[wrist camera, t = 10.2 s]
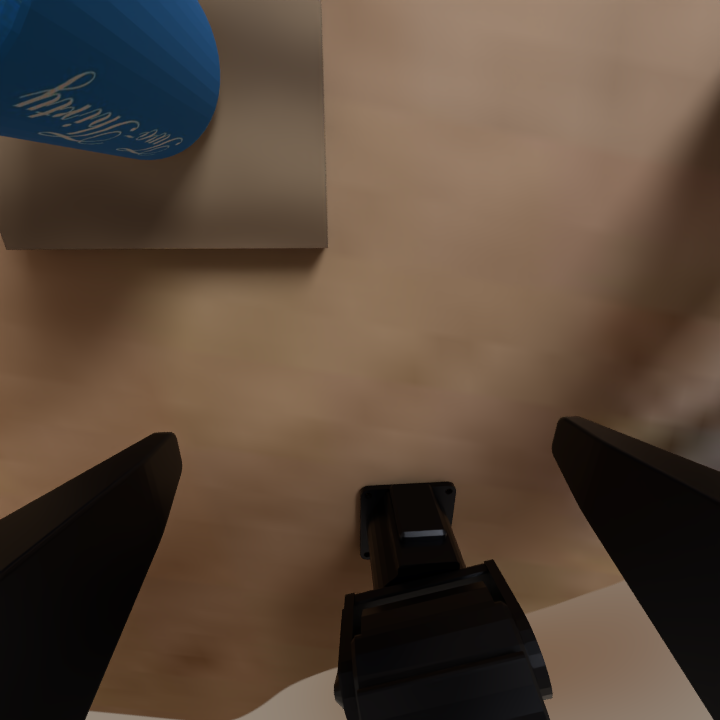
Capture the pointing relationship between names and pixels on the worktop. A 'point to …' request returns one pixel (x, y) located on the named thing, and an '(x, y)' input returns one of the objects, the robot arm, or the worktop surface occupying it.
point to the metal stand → (197, 157)
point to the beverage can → (108, 74)
